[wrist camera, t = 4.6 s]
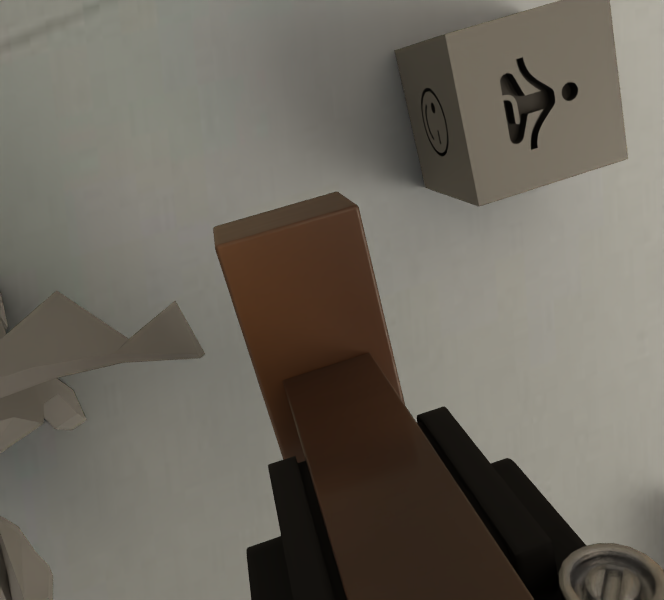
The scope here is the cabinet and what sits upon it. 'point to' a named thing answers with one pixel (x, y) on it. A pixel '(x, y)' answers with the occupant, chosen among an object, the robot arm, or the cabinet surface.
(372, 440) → the brown l-shaped block
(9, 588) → the figurine
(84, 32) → the cabinet surface
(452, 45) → the dice cube
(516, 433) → the cabinet surface
